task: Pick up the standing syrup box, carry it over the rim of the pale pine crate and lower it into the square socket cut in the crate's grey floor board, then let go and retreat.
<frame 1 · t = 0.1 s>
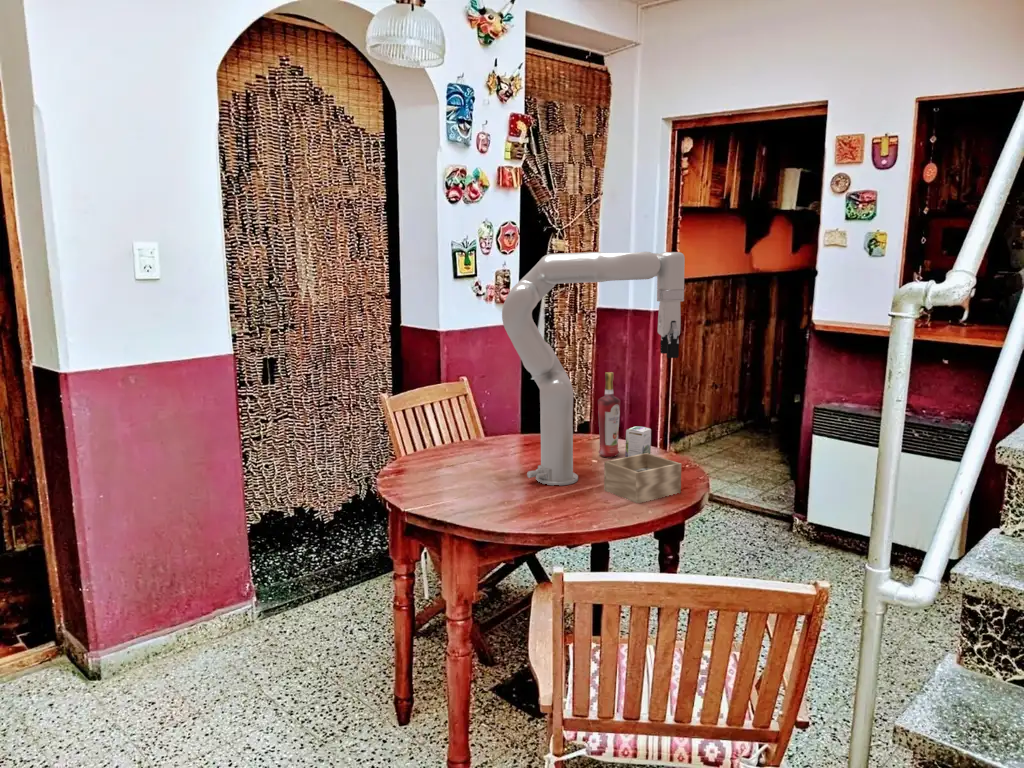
hand: (669, 355, 215), 37 cm above the table, tool pointing down, fingers open, 9 cm apart
syrup box: (637, 475, 226), on the table
crate: (642, 491, 210), on the table
liquor: (608, 456, 248), on the table
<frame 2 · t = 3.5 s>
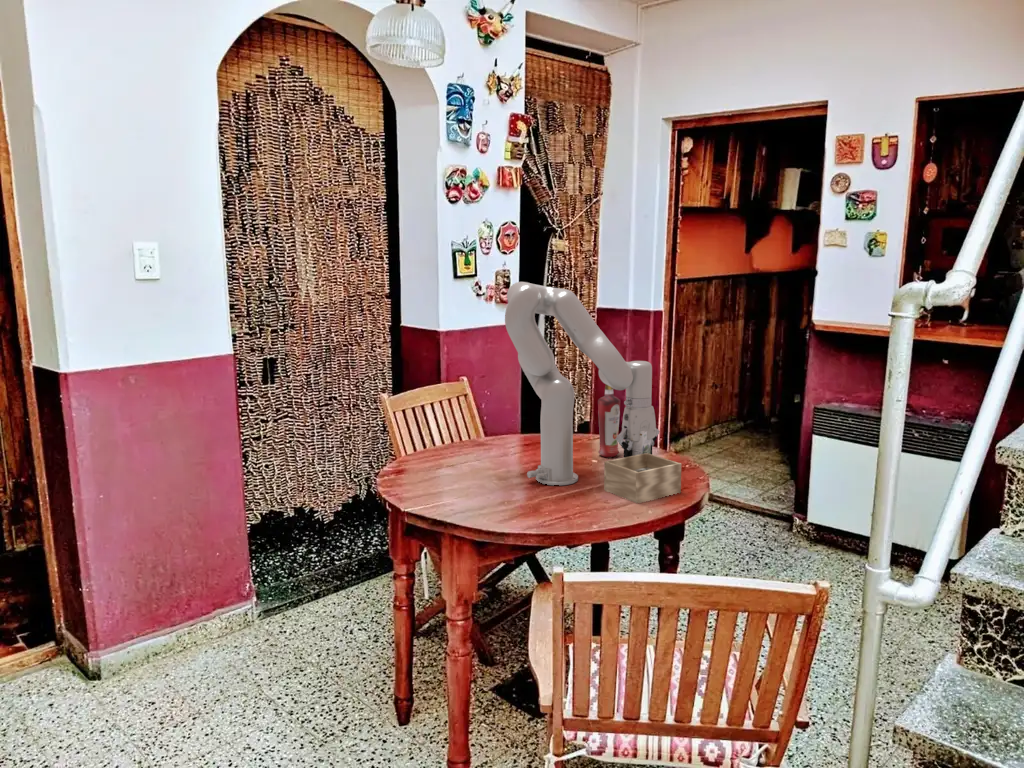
hand: (637, 459, 225), 5 cm above the table, tool pointing down, fingers closed on syrup box, 7 cm apart
syrup box: (637, 475, 226), on the table, touching gripper
everything else where it was.
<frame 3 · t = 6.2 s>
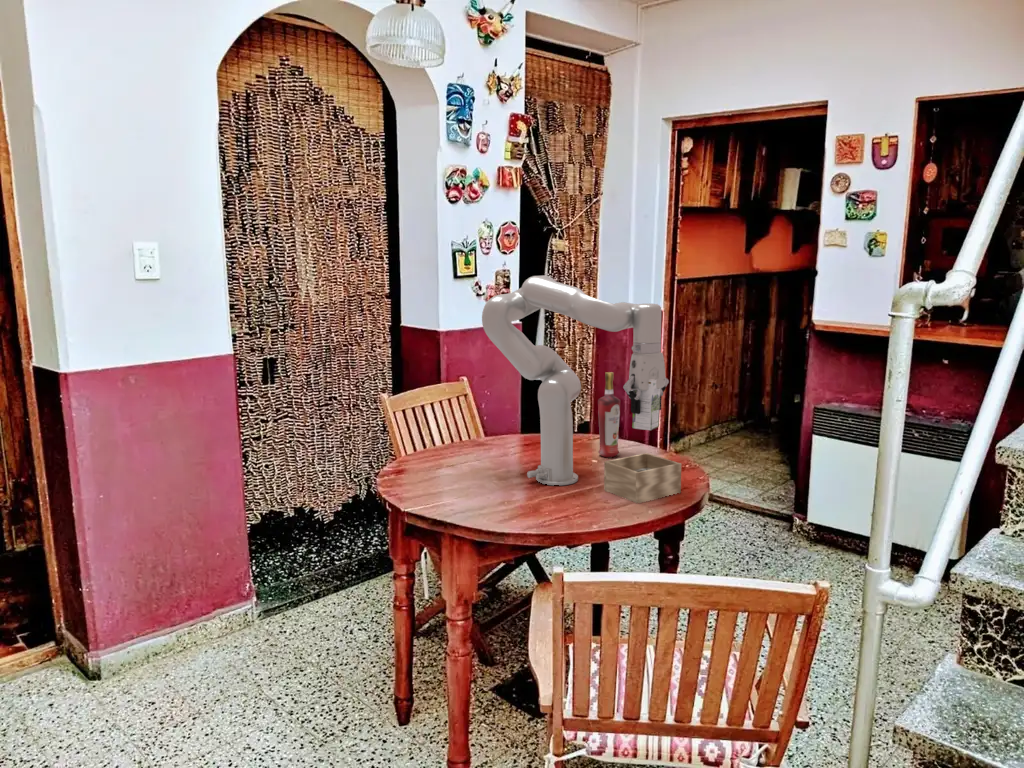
hand: (646, 410, 209), 23 cm above the table, tool pointing down, fingers closed on syrup box, 7 cm apart
syrup box: (646, 428, 210), point 18 cm above the table, touching gripper
everything else where it was.
when the fingers open (7 cm above the table, at t = 9.1 s): syrup box drops 2 cm, resting in crate.
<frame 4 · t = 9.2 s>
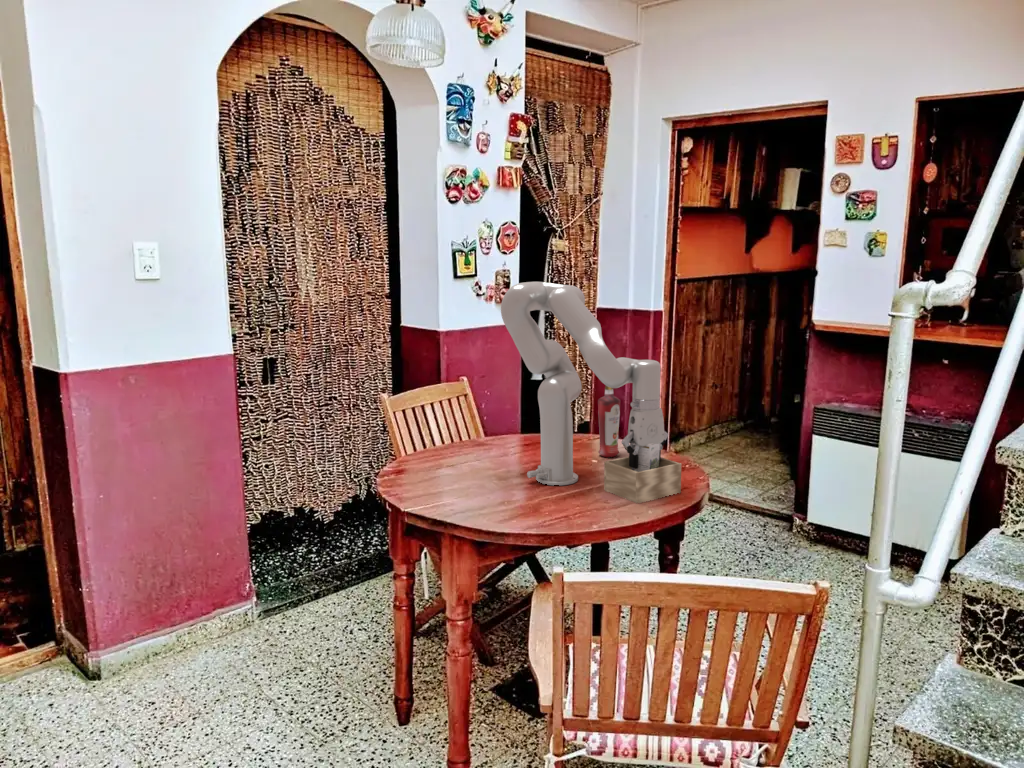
hand: (644, 464, 211), 7 cm above the table, tool pointing down, fingers open, 7 cm apart
syrup box: (645, 490, 212), resting in crate
everything else where it was.
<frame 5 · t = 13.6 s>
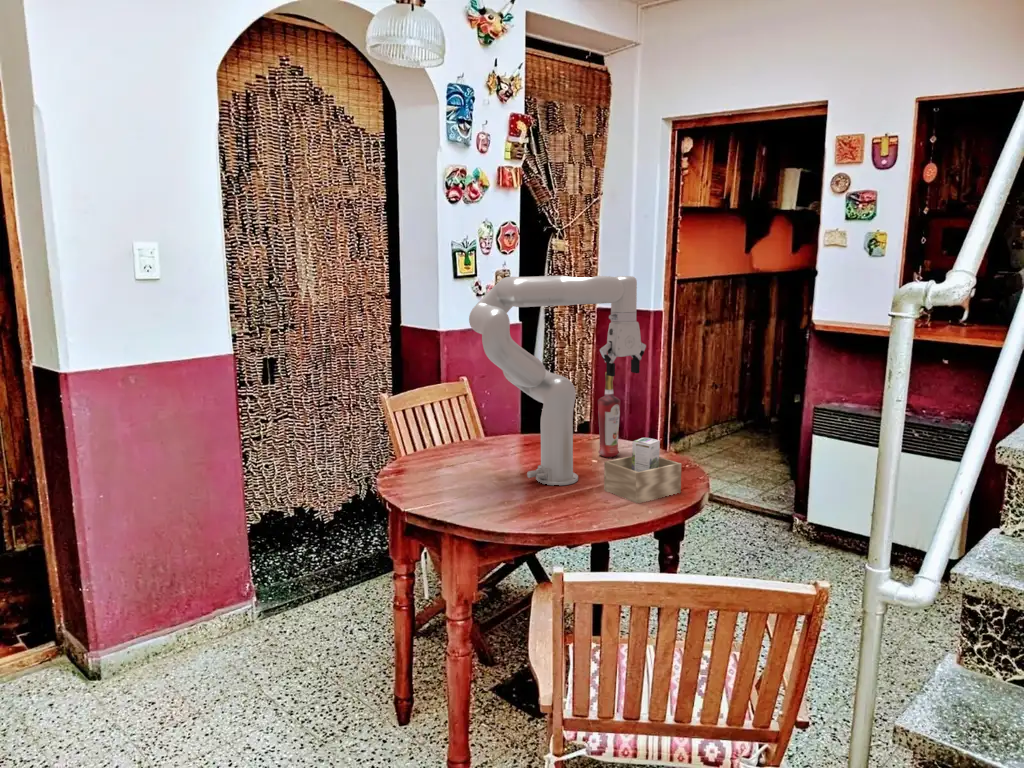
hand: (623, 374, 226), 30 cm above the table, tool pointing down, fingers open, 9 cm apart
nothing on the table moved.
at the end: syrup box 0.1 cm from the target spot on the crate, point 0.0 cm above the crate's base; syrup box tilted 0°; the gripper is holding nothing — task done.
